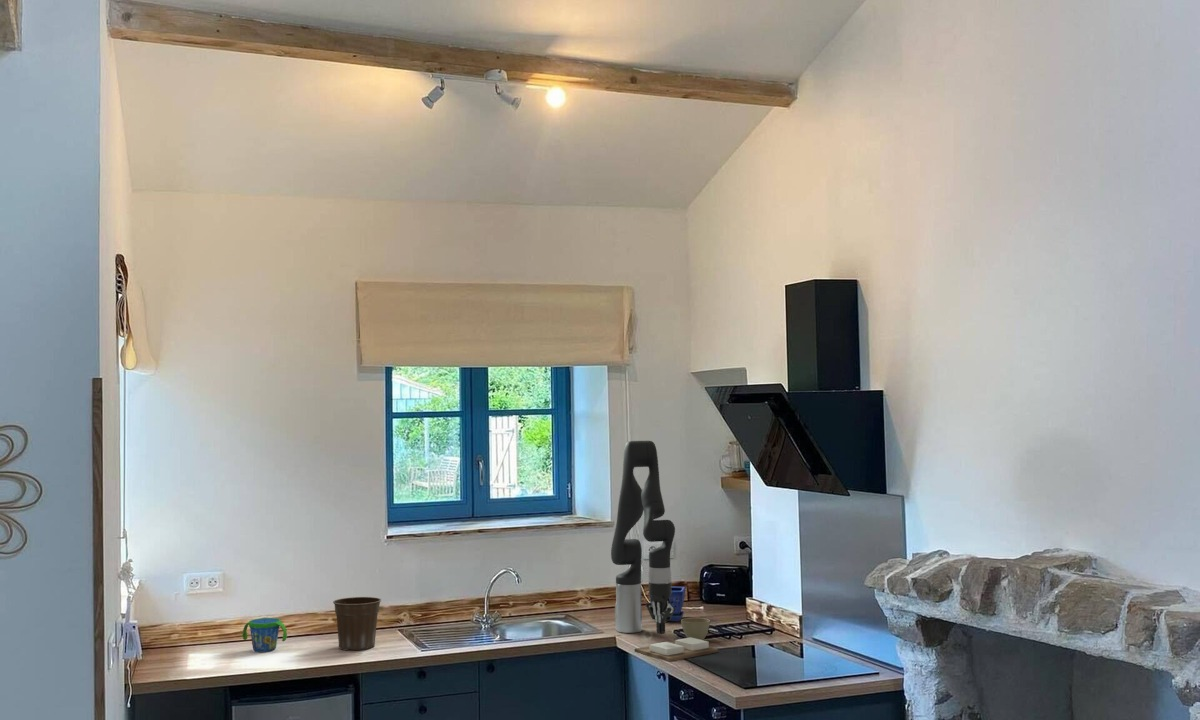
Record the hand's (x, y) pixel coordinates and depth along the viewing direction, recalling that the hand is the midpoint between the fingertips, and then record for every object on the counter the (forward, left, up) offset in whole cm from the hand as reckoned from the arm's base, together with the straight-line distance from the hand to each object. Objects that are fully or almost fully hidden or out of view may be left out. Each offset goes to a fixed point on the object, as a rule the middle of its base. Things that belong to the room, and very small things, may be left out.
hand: (661, 633), depth 344 cm
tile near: (-2, 0, -4) cm, 5 cm away
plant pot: (-76, -74, -7) cm, 106 cm away
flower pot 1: (-45, +40, -7) cm, 61 cm away
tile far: (-2, +11, -4) cm, 12 cm away
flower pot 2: (-8, +22, -7) cm, 24 cm away
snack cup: (-92, -101, -7) cm, 137 cm away
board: (+1, +6, -6) cm, 9 cm away
